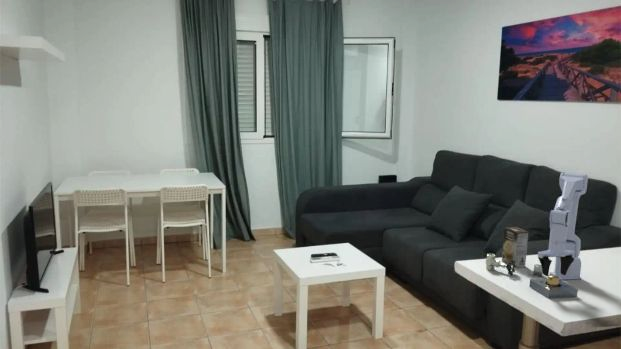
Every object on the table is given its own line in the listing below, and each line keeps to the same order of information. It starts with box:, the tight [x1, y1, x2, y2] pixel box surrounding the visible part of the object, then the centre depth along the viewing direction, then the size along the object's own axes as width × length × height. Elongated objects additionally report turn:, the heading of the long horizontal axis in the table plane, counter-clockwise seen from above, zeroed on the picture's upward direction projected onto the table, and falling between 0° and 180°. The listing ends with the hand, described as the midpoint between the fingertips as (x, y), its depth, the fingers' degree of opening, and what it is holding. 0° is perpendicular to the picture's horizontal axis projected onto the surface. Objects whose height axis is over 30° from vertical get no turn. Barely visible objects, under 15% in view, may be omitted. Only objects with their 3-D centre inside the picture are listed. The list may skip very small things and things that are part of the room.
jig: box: [528, 278, 579, 299], centre depth 196 cm, size 12×12×3 cm
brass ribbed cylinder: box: [546, 274, 559, 287], centre depth 196 cm, size 4×4×6 cm
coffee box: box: [501, 226, 530, 268], centre depth 228 cm, size 9×6×16 cm
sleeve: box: [532, 263, 544, 278], centre depth 215 cm, size 4×4×4 cm
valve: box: [485, 253, 517, 276], centre depth 218 cm, size 7×7×12 cm
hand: (554, 274), depth 195 cm, fingers open, 7 cm apart
